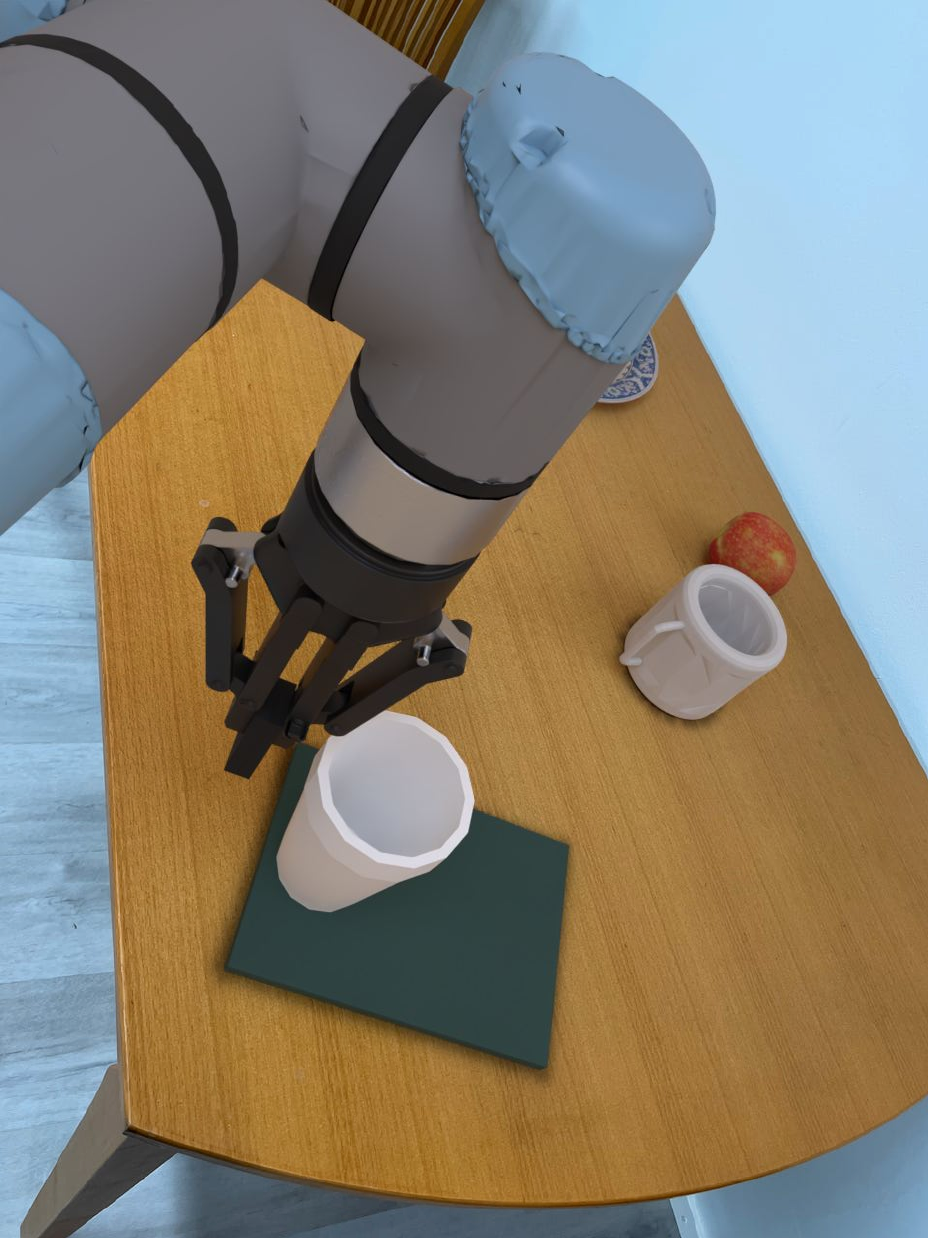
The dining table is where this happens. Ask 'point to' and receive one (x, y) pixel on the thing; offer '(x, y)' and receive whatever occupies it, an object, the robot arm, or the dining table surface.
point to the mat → (422, 937)
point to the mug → (704, 642)
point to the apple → (756, 550)
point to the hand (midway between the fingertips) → (243, 754)
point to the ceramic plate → (634, 376)
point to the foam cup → (374, 812)
